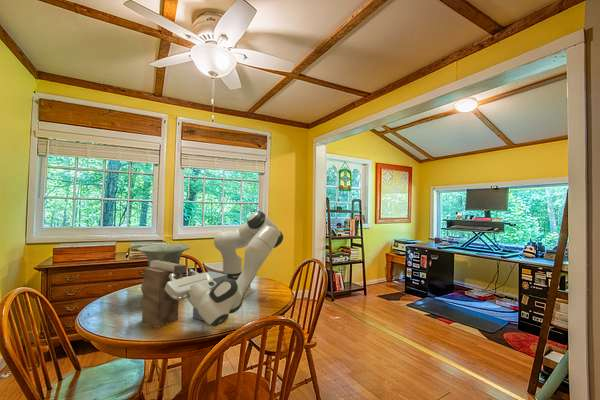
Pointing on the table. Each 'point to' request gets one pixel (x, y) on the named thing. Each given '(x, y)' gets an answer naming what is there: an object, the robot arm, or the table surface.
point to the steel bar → (168, 266)
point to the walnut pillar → (158, 298)
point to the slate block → (216, 278)
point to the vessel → (163, 253)
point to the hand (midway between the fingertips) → (180, 272)
